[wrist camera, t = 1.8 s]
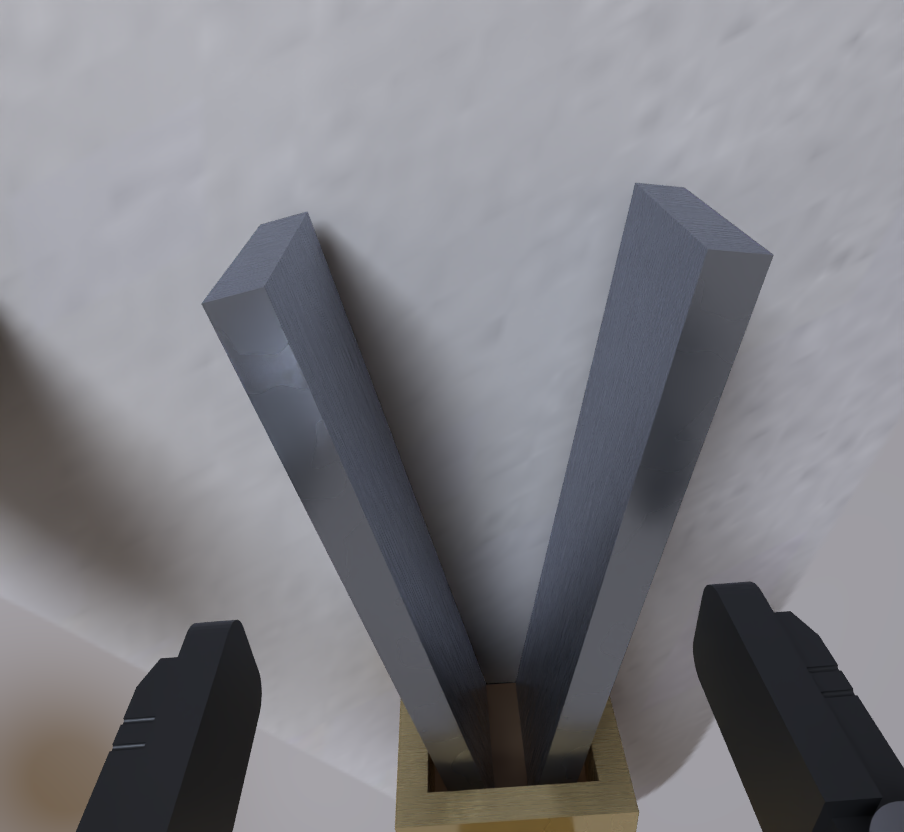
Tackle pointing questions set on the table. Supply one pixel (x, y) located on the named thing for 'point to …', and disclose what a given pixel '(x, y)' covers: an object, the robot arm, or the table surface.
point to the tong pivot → (504, 740)
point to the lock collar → (518, 793)
